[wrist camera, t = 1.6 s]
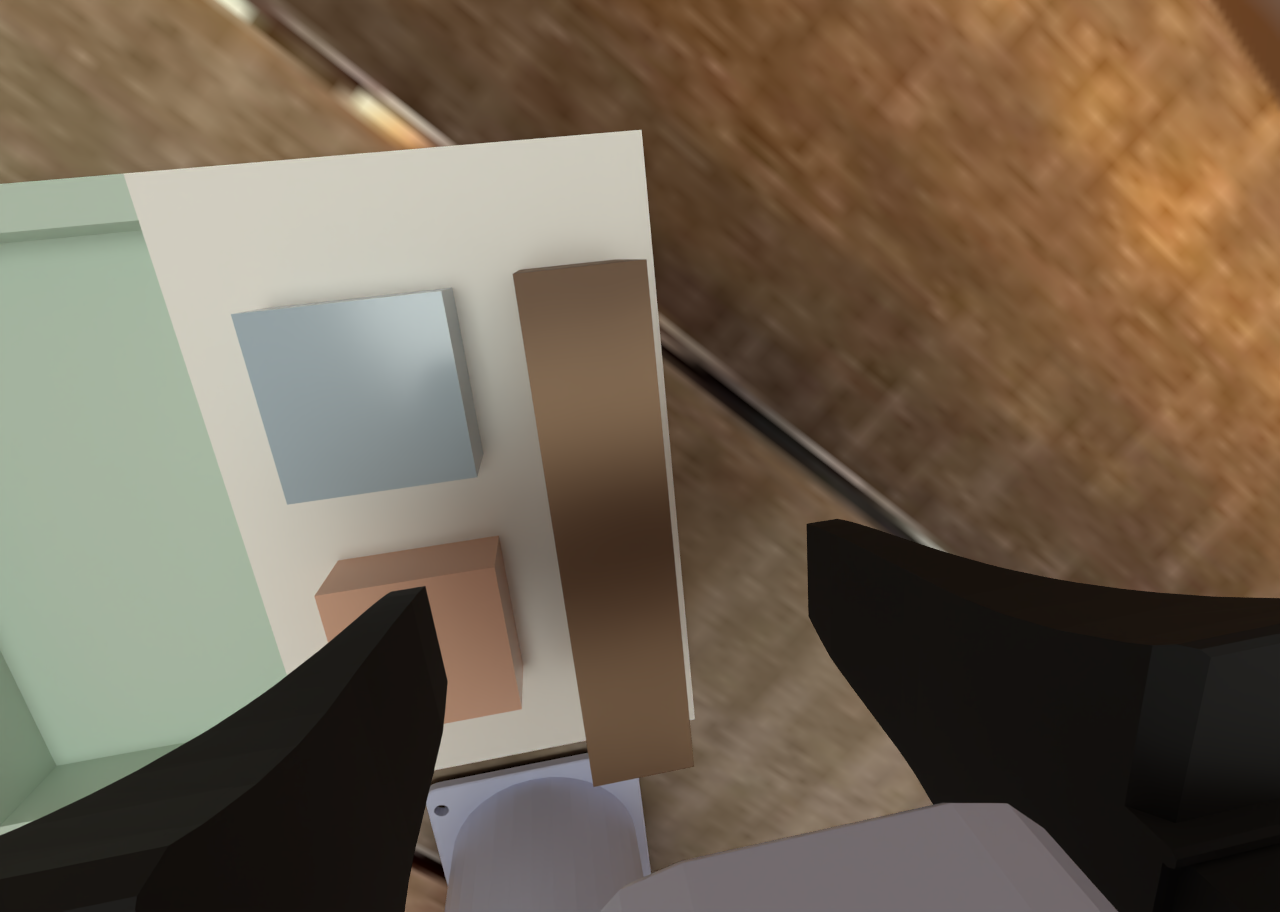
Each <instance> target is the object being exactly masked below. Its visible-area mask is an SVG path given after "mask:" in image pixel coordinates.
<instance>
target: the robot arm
mask: <svg viewBox="0 0 1280 912" xmlns="http://www.w3.org/2000/svg"><path fill="white" fill-rule="evenodd" d="M807 561H808V609H809V618H810V620H811V622H812V624H813V626H814V628H815V630H816V632H817V634H818V635H819V637H820V639H821V641H822V643H823V645H824V647H825V648H826V650H827V652H828V654H829V656H830V657H831V659H832V660H833V662H834V663H835V665H836V666H837V667H838V669H839V670H840V672H841V673H842V674H843V676H844V677H845V678H846V680H847V681H848V682H849V684H850V685H851V687H852V688H853V689H854V691H855V692H856V693H857V695H858V696H859V697H860V699H861V700H862V701H863V703H864V704H865V705H866V707H867V708H868V709H869V711H870V712H871V713H872V715H873V716H874V717H875V719H876V720H877V721H878V723H879V724H880V726H881V727H882V728H883V730H884V731H885V732H886V734H887V735H888V736H889V738H890V739H891V740H892V742H893V743H894V744H895V746H896V747H897V748H898V750H899V751H900V752H901V754H902V755H903V757H904V758H905V760H906V761H907V763H908V764H909V766H910V767H911V769H912V770H913V772H914V773H915V775H916V776H917V778H918V780H919V781H920V783H921V785H922V786H923V788H924V790H925V791H926V793H927V795H928V797H929V798H930V800H931V802H932V803H933V805H931V806H926V807H922V808H917V809H913V810H908V811H904V812H899V813H895V814H890V815H886V816H881V817H877V818H872V819H868V820H863V821H859V822H854V823H849V824H845V825H840V826H836V827H831V828H827V829H822V830H818V831H813V832H809V833H804V834H800V835H795V836H791V837H786V838H782V839H777V840H773V841H768V842H764V843H759V844H755V845H750V846H746V847H741V848H737V849H732V850H728V851H723V852H719V853H714V854H710V855H705V856H701V857H696V858H692V859H687V860H683V861H679V862H677V863H675V864H672V865H670V866H668V867H666V868H663V869H661V870H659V871H656V872H654V873H652V874H651V869H650V861H649V853H648V845H647V838H646V830H645V822H644V814H643V806H642V799H641V791H640V783H639V778H636V779H631V780H626V781H621V782H616V783H611V784H606V785H601V786H597V787H593V781H592V775H591V768H590V762H589V756H588V753H584V754H579V755H574V756H569V757H564V758H559V759H554V760H549V761H544V762H539V763H533V764H528V765H523V766H518V767H513V768H508V769H503V770H498V771H493V772H488V773H483V774H478V775H473V776H468V777H463V778H458V779H453V780H448V781H443V782H438V783H435V784H432V785H431V781H432V777H433V773H434V769H435V764H436V760H437V756H438V752H439V747H440V743H441V738H442V734H443V727H444V718H445V708H446V696H447V684H448V680H447V676H446V672H445V668H444V663H443V659H442V655H441V650H440V646H439V642H438V638H437V633H436V629H435V625H434V621H433V616H432V612H431V608H430V603H429V599H428V595H427V591H426V586H422V587H416V588H410V589H404V590H397V591H391V592H389V593H388V594H386V595H385V596H383V597H382V598H381V599H380V600H378V601H377V602H376V603H375V604H373V605H372V606H371V607H370V608H368V609H367V610H366V611H365V612H364V613H363V614H361V615H360V616H359V617H358V618H357V619H356V620H354V621H353V622H352V623H351V624H350V625H349V626H347V627H346V628H345V629H344V630H343V631H342V632H340V633H339V634H338V635H337V636H336V637H334V638H333V639H332V640H331V641H330V642H329V643H327V644H326V645H325V646H324V647H323V648H321V649H320V650H319V651H318V652H316V653H315V654H314V655H313V656H311V657H310V658H309V659H307V660H306V661H305V662H304V663H302V664H301V665H300V666H298V667H297V668H296V669H295V670H293V671H292V672H291V673H290V674H288V675H287V676H286V677H284V678H283V679H282V680H281V681H279V682H278V683H277V684H275V685H274V686H273V687H271V688H270V689H269V690H267V691H266V692H264V693H263V694H262V695H260V696H259V697H257V698H256V699H254V700H253V701H252V702H250V703H249V704H247V705H246V706H244V707H243V708H241V709H240V710H238V711H237V712H235V713H234V714H232V715H230V716H229V717H227V718H226V719H224V720H223V721H221V722H220V723H218V724H217V725H215V726H213V727H212V728H210V729H209V730H207V731H205V732H204V733H202V734H200V735H199V736H197V737H195V738H193V739H192V740H190V741H188V742H186V743H185V744H183V745H181V746H179V747H178V748H176V749H174V750H172V751H170V752H169V753H167V754H165V755H163V756H162V757H160V758H158V759H156V760H155V761H153V762H151V763H149V764H148V765H146V766H144V767H142V768H141V769H139V770H137V771H135V772H133V773H131V774H129V775H127V776H126V777H124V778H122V779H120V780H118V781H116V782H114V783H112V784H110V785H108V786H106V787H104V788H102V789H100V790H98V791H96V792H94V793H92V794H90V795H88V796H86V797H84V798H81V799H79V800H77V801H75V802H73V803H71V804H69V805H67V806H65V807H63V808H60V809H58V810H56V811H54V812H52V813H50V814H48V815H46V816H43V817H41V818H39V819H37V820H34V821H32V822H30V823H28V824H26V825H23V826H21V827H19V828H17V829H14V830H12V831H9V832H7V833H5V834H2V835H0V912H405V904H406V897H407V889H408V882H409V877H410V872H411V867H412V862H413V856H414V852H415V847H416V843H417V839H418V835H419V831H420V827H421V823H422V818H423V814H424V810H425V806H427V810H428V814H429V817H430V821H431V825H432V829H433V833H434V836H435V840H436V844H437V848H438V851H439V855H440V859H441V863H442V867H443V870H444V874H445V878H446V882H447V885H448V890H447V898H446V905H445V912H1280V598H1240V597H1210V596H1196V595H1182V594H1169V593H1156V592H1146V591H1136V590H1127V589H1119V588H1111V587H1104V586H1097V585H1090V584H1083V583H1076V582H1070V581H1064V580H1058V579H1052V578H1047V577H1042V576H1038V575H1033V574H1028V573H1023V572H1019V571H1014V570H1009V569H1005V568H1001V567H997V566H993V565H989V564H985V563H981V562H978V561H974V560H971V559H967V558H963V557H960V556H956V555H953V554H950V553H946V552H943V551H940V550H937V549H933V548H930V547H927V546H924V545H921V544H918V543H915V542H912V541H909V540H906V539H903V538H900V537H897V536H894V535H891V534H888V533H885V532H882V531H879V530H876V529H873V528H870V527H867V526H863V525H860V524H857V523H853V522H849V521H845V520H840V519H834V520H828V521H822V522H815V523H809V524H807ZM430 785H431V786H430ZM439 805H445V806H447V807H445V808H441V807H438V806H439Z"/></svg>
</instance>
